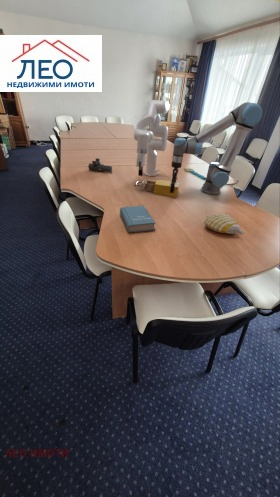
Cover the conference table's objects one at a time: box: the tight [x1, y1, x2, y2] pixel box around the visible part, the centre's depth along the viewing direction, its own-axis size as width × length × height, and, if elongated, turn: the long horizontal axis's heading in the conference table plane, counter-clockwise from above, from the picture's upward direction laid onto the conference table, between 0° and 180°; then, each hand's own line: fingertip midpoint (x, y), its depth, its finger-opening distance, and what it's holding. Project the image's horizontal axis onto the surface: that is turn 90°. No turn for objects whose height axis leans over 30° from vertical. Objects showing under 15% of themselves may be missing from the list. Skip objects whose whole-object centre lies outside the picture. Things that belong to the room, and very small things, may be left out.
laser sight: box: [88, 158, 113, 173], centre depth 208 cm, size 10×22×10 cm, turn 78°
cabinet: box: [153, 179, 180, 198], centre depth 176 cm, size 18×11×8 cm, turn 77°
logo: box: [183, 167, 206, 180], centre depth 223 cm, size 34×10×1 cm, turn 16°
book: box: [119, 205, 156, 233], centre depth 136 cm, size 23×16×5 cm
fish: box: [203, 213, 245, 235], centre depth 133 cm, size 25×8×20 cm
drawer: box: [133, 178, 157, 192], centre depth 178 cm, size 23×10×6 cm, turn 77°
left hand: (140, 175), depth 175 cm, fingers closed
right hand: (172, 190), depth 175 cm, fingers closed on cabinet, 11 cm apart
